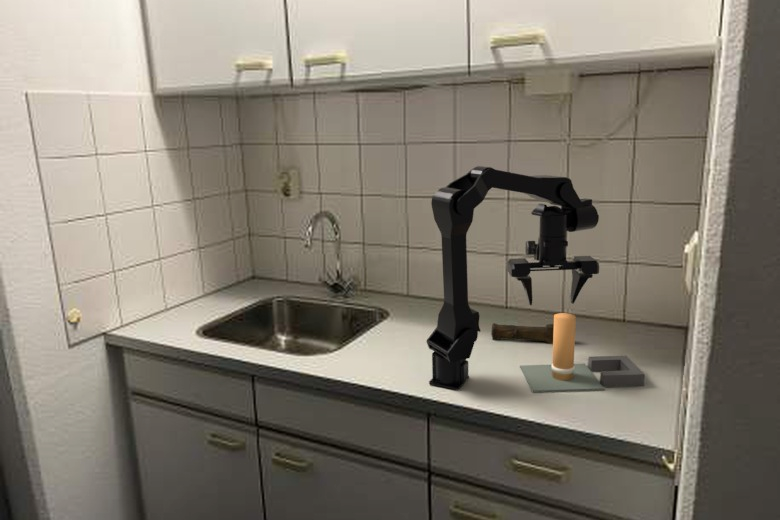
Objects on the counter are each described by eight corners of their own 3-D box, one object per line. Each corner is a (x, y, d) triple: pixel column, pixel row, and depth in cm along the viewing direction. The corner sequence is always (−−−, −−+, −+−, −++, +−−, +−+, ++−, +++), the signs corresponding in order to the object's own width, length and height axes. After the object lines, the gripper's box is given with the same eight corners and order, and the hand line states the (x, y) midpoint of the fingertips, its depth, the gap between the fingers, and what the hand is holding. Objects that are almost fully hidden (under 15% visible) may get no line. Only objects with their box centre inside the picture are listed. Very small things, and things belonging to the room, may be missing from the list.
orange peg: (554, 381, 120) (556, 320, 117) (548, 371, 125) (550, 313, 122) (576, 380, 120) (579, 319, 117) (570, 371, 125) (572, 312, 122)
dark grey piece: (603, 387, 118) (604, 375, 117) (588, 367, 127) (588, 356, 127) (643, 385, 118) (644, 374, 117) (625, 366, 127) (626, 355, 127)
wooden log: (490, 341, 144) (490, 323, 143) (492, 335, 148) (493, 318, 147) (572, 348, 138) (572, 330, 137) (572, 342, 142) (573, 324, 141)
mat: (532, 392, 117) (532, 390, 117) (519, 367, 129) (519, 365, 128) (604, 390, 117) (604, 388, 117) (584, 365, 128) (584, 363, 128)
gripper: (584, 226, 135) (582, 291, 139) (502, 229, 136) (502, 294, 139) (601, 235, 125) (598, 306, 128) (512, 239, 125) (511, 310, 129)
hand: (551, 303), depth 131 cm, fingers open, 9 cm apart
